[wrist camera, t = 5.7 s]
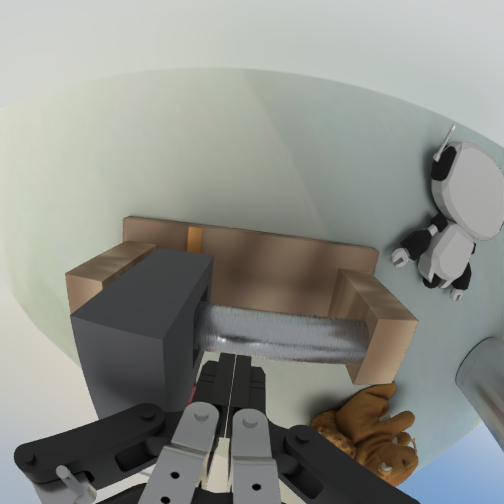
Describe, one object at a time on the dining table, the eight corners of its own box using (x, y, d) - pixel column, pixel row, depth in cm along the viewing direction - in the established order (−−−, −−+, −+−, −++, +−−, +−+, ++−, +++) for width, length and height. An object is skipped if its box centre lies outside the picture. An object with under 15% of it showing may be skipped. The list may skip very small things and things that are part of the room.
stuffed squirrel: (388, 424, 30) (415, 491, 17) (295, 439, 31) (301, 517, 18) (406, 376, 28) (449, 450, 15) (298, 392, 28) (309, 488, 16)
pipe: (394, 310, 17) (415, 333, 14) (381, 349, 18) (396, 375, 15) (91, 270, 17) (65, 286, 14) (95, 310, 18) (72, 330, 15)
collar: (214, 255, 19) (162, 340, 8) (207, 341, 20) (173, 449, 10) (159, 248, 19) (69, 315, 9) (159, 332, 20) (102, 426, 10)
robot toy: (446, 295, 26) (499, 186, 21) (465, 313, 21) (524, 192, 17) (372, 251, 25) (434, 121, 20) (389, 269, 20) (459, 117, 16)
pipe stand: (374, 247, 24) (434, 291, 13) (351, 332, 26) (386, 402, 16) (128, 216, 24) (57, 241, 14) (130, 303, 26) (76, 359, 16)
